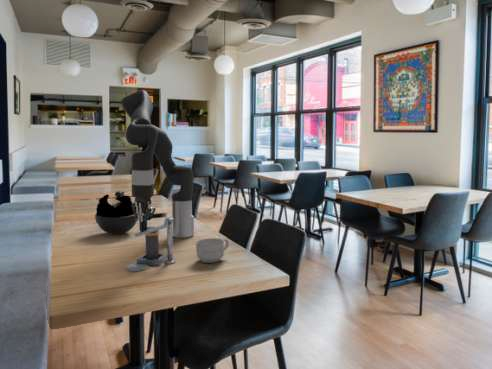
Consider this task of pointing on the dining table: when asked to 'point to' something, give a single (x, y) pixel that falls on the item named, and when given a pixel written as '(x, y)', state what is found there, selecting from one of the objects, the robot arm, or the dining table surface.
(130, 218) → the bowl of black rocks
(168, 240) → the post
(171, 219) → the gray square bar
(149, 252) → the plug
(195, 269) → the dining table surface
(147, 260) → the socket
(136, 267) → the mat
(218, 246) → the teacup
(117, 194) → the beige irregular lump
